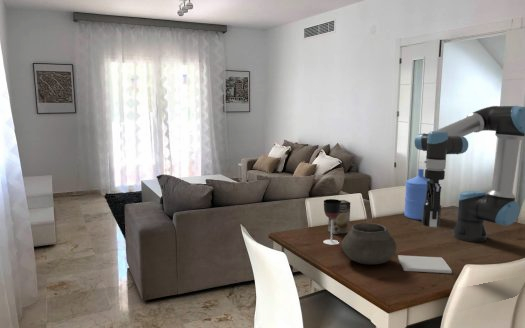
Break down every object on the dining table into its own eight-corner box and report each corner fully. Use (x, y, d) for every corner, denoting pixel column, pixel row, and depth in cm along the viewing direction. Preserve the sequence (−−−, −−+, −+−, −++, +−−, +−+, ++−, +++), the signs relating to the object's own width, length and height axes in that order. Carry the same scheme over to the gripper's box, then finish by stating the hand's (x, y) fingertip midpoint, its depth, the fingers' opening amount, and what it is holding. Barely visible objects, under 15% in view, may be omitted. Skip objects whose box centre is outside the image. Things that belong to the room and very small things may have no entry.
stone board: (441, 260, 179) (442, 257, 179) (451, 273, 166) (451, 270, 166) (397, 258, 182) (398, 255, 182) (403, 270, 168) (403, 267, 168)
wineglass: (341, 240, 205) (343, 200, 202) (337, 246, 197) (338, 204, 194) (325, 238, 208) (326, 198, 205) (320, 243, 200) (321, 202, 198)
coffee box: (333, 234, 214) (334, 203, 212) (327, 231, 220) (328, 200, 218) (349, 232, 217) (350, 202, 215) (343, 229, 223) (344, 199, 221)
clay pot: (362, 275, 164) (363, 237, 162) (332, 256, 183) (333, 223, 181) (406, 266, 173) (408, 230, 170) (373, 250, 192) (374, 217, 190)
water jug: (406, 219, 242) (409, 171, 238) (402, 212, 257) (404, 167, 253) (435, 221, 239) (438, 172, 235) (429, 213, 255) (432, 167, 251)
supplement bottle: (437, 228, 171) (440, 199, 170) (420, 225, 175) (422, 197, 173) (440, 224, 177) (443, 196, 175) (423, 222, 181) (426, 194, 179)
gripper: (420, 165, 183) (416, 217, 186) (431, 172, 164) (426, 230, 167) (438, 166, 182) (434, 218, 185) (451, 173, 163) (446, 231, 166)
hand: (430, 224), depth 176 cm, fingers closed on supplement bottle, 7 cm apart
